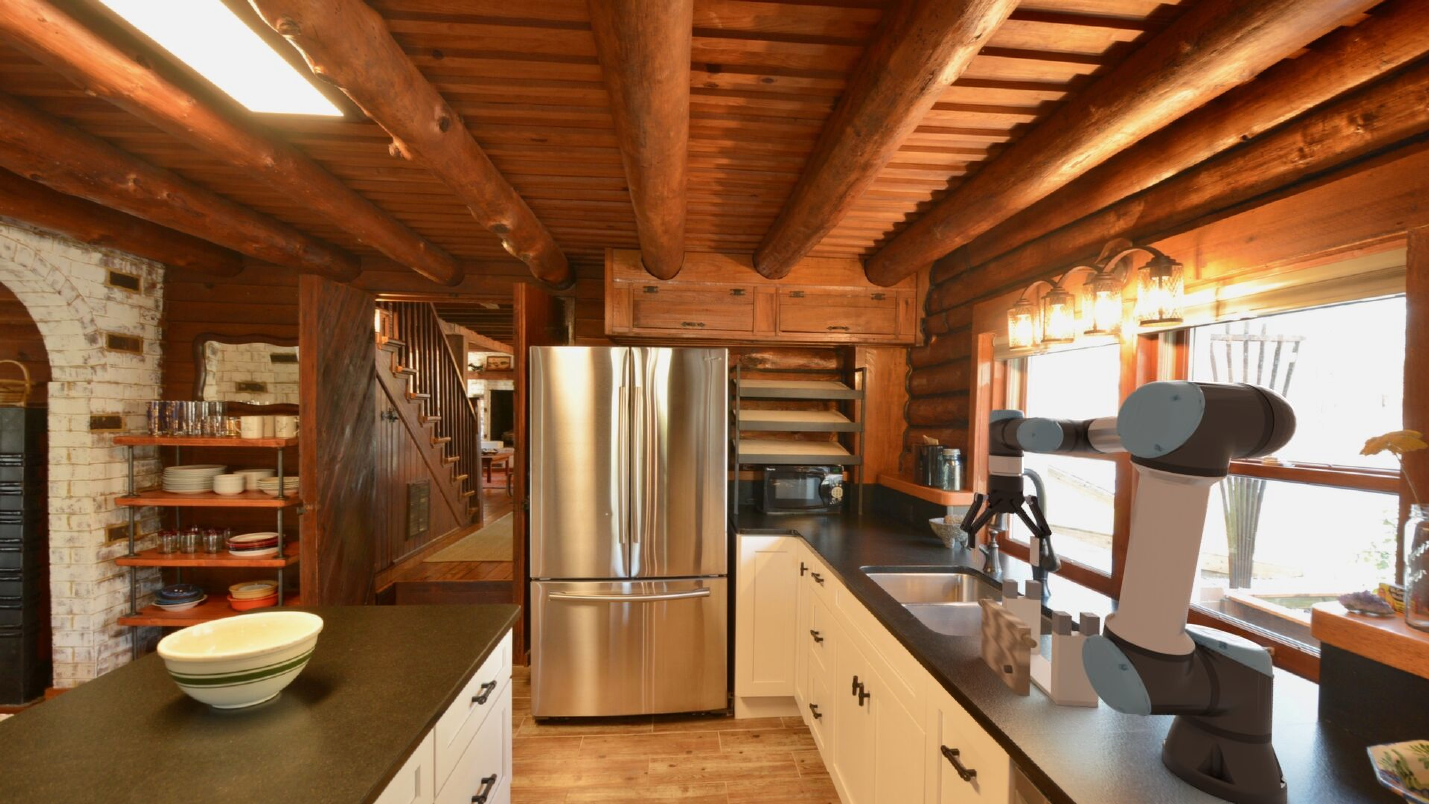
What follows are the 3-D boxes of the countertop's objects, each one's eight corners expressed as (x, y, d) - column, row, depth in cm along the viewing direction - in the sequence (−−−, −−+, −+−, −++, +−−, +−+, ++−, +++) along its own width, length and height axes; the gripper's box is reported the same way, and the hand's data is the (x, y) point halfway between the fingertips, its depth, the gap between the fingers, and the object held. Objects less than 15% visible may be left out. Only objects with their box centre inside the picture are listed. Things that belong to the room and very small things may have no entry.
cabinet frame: (1098, 707, 111) (1100, 617, 112) (1057, 704, 112) (1059, 615, 112) (1034, 653, 136) (1035, 580, 136) (1000, 652, 136) (1002, 578, 137)
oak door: (1038, 704, 112) (1039, 634, 112) (1019, 703, 112) (1020, 633, 113) (985, 651, 137) (986, 594, 137) (969, 650, 137) (971, 593, 137)
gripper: (1051, 474, 135) (1050, 561, 135) (946, 470, 137) (945, 557, 137) (1069, 477, 128) (1068, 570, 127) (957, 473, 130) (956, 564, 129)
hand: (1004, 563), depth 132 cm, fingers open, 13 cm apart
